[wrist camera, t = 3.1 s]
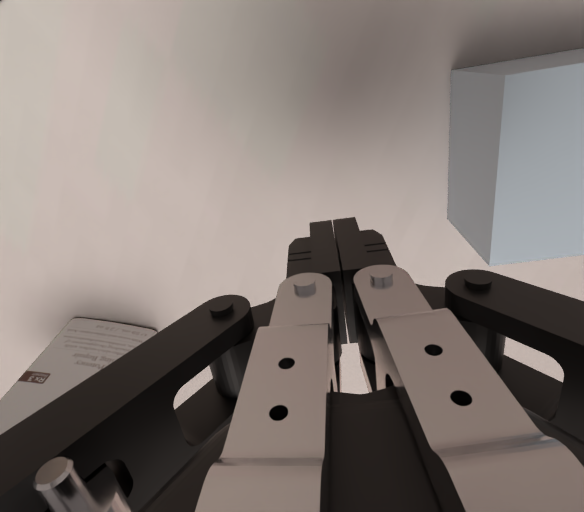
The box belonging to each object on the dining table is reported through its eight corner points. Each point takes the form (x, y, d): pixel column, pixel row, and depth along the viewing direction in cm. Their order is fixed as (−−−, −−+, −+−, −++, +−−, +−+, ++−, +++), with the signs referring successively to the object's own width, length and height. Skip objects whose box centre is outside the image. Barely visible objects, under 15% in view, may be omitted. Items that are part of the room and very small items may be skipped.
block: (449, 69, 19) (505, 75, 14) (664, 33, 18) (811, 24, 13) (446, 217, 23) (489, 266, 18) (626, 193, 22) (728, 237, 17)
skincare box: (158, 326, 27) (63, 506, 16) (158, 374, 29) (74, 561, 18) (68, 314, 27) (-89, 489, 16) (75, 363, 29) (-60, 547, 18)
